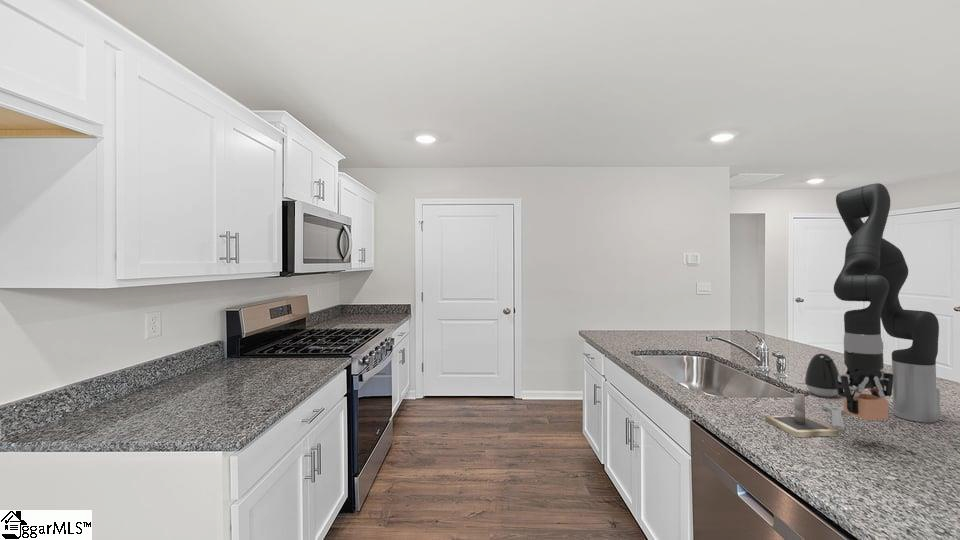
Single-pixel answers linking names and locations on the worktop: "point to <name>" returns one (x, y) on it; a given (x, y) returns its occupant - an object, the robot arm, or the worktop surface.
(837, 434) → the post plate
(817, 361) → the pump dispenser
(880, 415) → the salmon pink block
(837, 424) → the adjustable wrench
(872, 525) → the worktop surface
